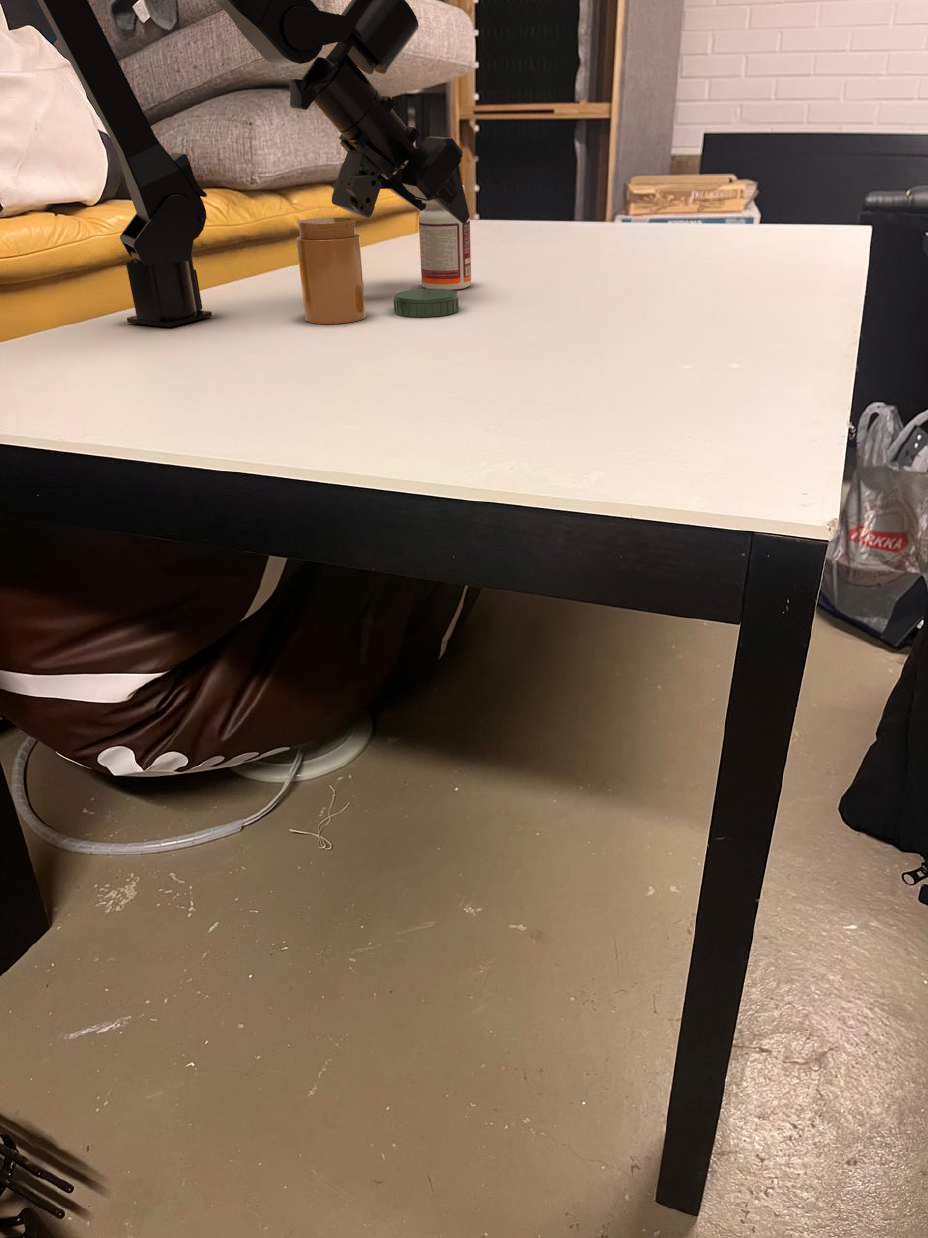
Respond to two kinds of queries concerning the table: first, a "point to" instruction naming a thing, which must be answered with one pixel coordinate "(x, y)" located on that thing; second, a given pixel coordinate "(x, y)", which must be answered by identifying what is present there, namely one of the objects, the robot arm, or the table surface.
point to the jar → (331, 271)
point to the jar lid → (426, 302)
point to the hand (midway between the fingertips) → (446, 215)
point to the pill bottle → (444, 249)
